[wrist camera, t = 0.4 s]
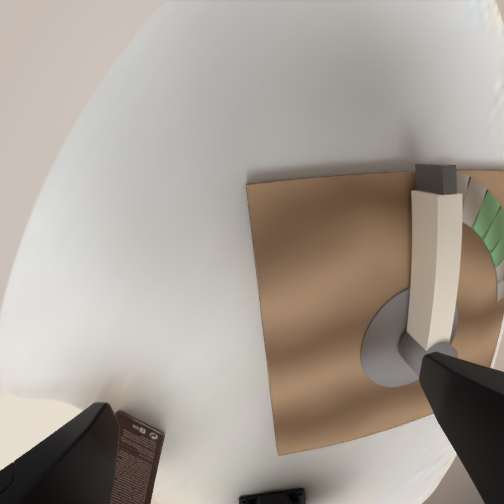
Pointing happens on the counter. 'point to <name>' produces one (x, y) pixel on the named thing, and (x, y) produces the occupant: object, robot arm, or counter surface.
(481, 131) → the counter surface
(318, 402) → the dial board
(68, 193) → the counter surface
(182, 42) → the counter surface
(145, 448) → the box
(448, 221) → the dial lever
